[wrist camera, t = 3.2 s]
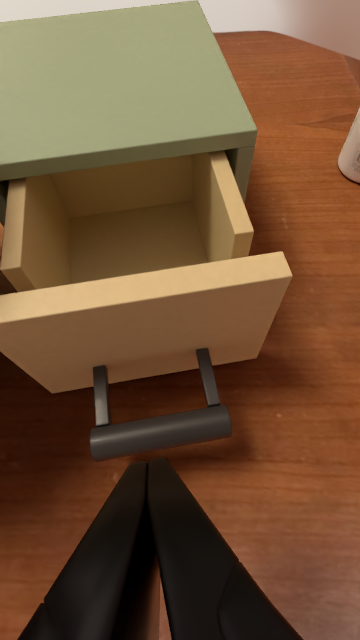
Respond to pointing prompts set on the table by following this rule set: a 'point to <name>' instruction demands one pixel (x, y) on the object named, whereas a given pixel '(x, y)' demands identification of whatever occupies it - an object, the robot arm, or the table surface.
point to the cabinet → (117, 93)
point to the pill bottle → (351, 152)
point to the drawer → (136, 288)
